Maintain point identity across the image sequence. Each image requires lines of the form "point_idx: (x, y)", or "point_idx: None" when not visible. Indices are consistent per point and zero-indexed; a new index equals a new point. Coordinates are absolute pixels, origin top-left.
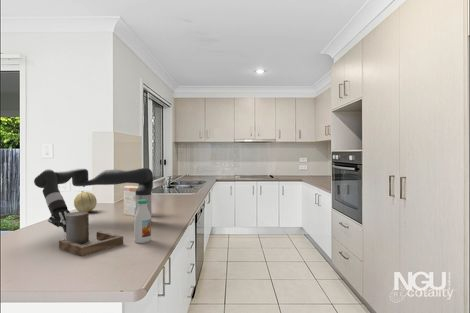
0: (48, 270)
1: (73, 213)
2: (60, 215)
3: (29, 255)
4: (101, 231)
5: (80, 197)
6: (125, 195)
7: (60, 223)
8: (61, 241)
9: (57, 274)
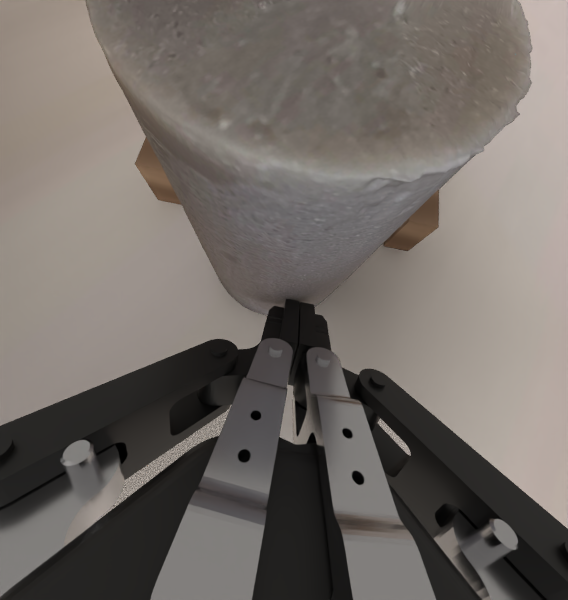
0: (551, 91)
1: (382, 25)
2: (379, 517)
3: (542, 289)
4: (149, 145)
5: None
6: None
7: (373, 375)
8: (438, 200)
9: (545, 51)
